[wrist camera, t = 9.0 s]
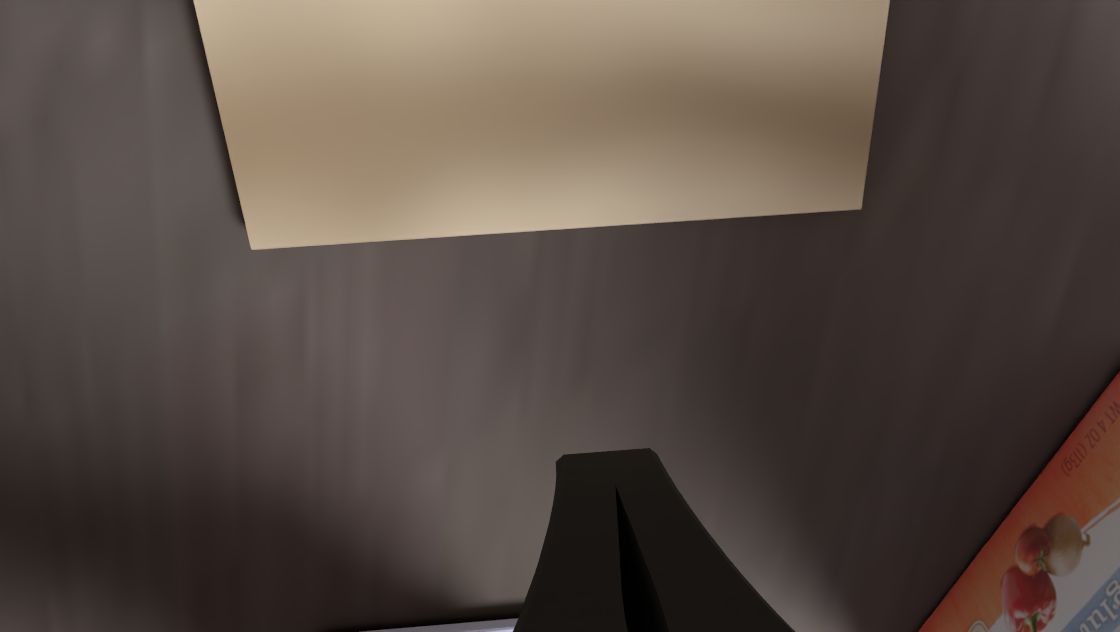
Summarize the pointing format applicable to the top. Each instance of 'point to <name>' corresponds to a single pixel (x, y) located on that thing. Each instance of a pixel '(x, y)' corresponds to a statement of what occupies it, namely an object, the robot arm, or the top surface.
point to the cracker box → (1052, 544)
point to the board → (538, 112)
